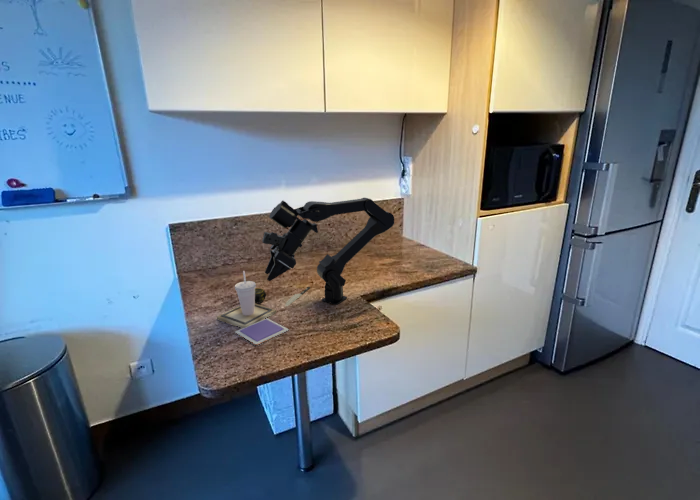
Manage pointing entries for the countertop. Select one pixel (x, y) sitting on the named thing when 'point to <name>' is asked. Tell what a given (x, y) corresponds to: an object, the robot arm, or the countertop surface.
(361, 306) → the countertop surface
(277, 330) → the ink pad
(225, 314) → the board
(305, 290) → the chef's knife
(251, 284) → the smoothie
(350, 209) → the robot arm
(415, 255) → the countertop surface
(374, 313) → the countertop surface
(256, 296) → the tape measure
